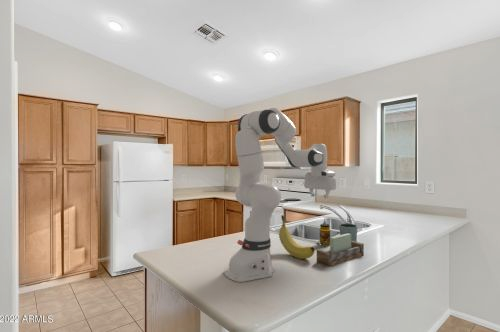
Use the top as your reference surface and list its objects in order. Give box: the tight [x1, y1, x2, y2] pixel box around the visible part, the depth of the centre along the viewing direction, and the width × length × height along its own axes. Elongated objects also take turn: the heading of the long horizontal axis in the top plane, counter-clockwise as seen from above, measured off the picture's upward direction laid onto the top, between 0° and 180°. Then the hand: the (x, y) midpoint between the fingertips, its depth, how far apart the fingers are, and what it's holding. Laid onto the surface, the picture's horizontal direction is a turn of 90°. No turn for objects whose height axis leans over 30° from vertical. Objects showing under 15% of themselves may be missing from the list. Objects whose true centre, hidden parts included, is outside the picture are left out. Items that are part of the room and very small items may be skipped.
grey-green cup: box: [338, 223, 358, 242], centre depth 158 cm, size 10×10×12 cm
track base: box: [316, 241, 365, 267], centre depth 136 cm, size 28×7×6 cm, turn 125°
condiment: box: [319, 223, 331, 247], centre depth 161 cm, size 7×8×12 cm
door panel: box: [329, 233, 351, 254], centre depth 136 cm, size 14×2×10 cm, turn 125°
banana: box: [278, 214, 315, 260], centre depth 140 cm, size 23×6×20 cm, turn 39°
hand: (319, 197), depth 151 cm, fingers open, 8 cm apart
